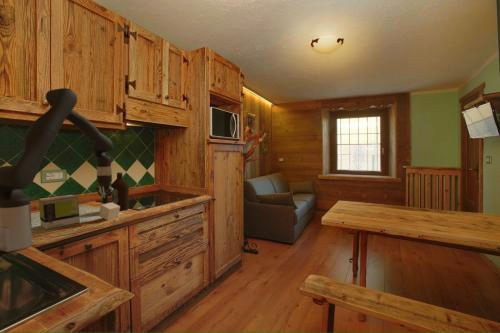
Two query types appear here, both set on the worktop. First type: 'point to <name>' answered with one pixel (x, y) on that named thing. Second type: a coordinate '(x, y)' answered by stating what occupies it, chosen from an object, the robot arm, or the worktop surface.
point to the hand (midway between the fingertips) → (105, 203)
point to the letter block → (109, 211)
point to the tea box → (59, 211)
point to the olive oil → (120, 192)
